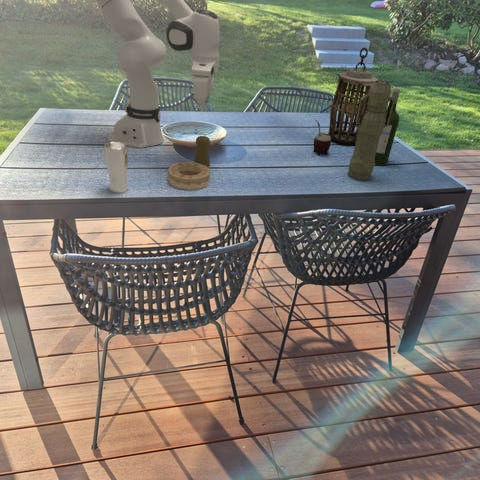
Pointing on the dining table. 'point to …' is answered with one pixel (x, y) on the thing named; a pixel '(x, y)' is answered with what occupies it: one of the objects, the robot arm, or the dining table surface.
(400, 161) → the dining table surface
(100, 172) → the dining table surface
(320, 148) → the mate gourd
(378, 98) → the thermos
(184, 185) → the tan faceted ring
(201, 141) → the dark brown rounded piece
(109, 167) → the beer glass
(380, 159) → the wine bottle
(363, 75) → the lantern
